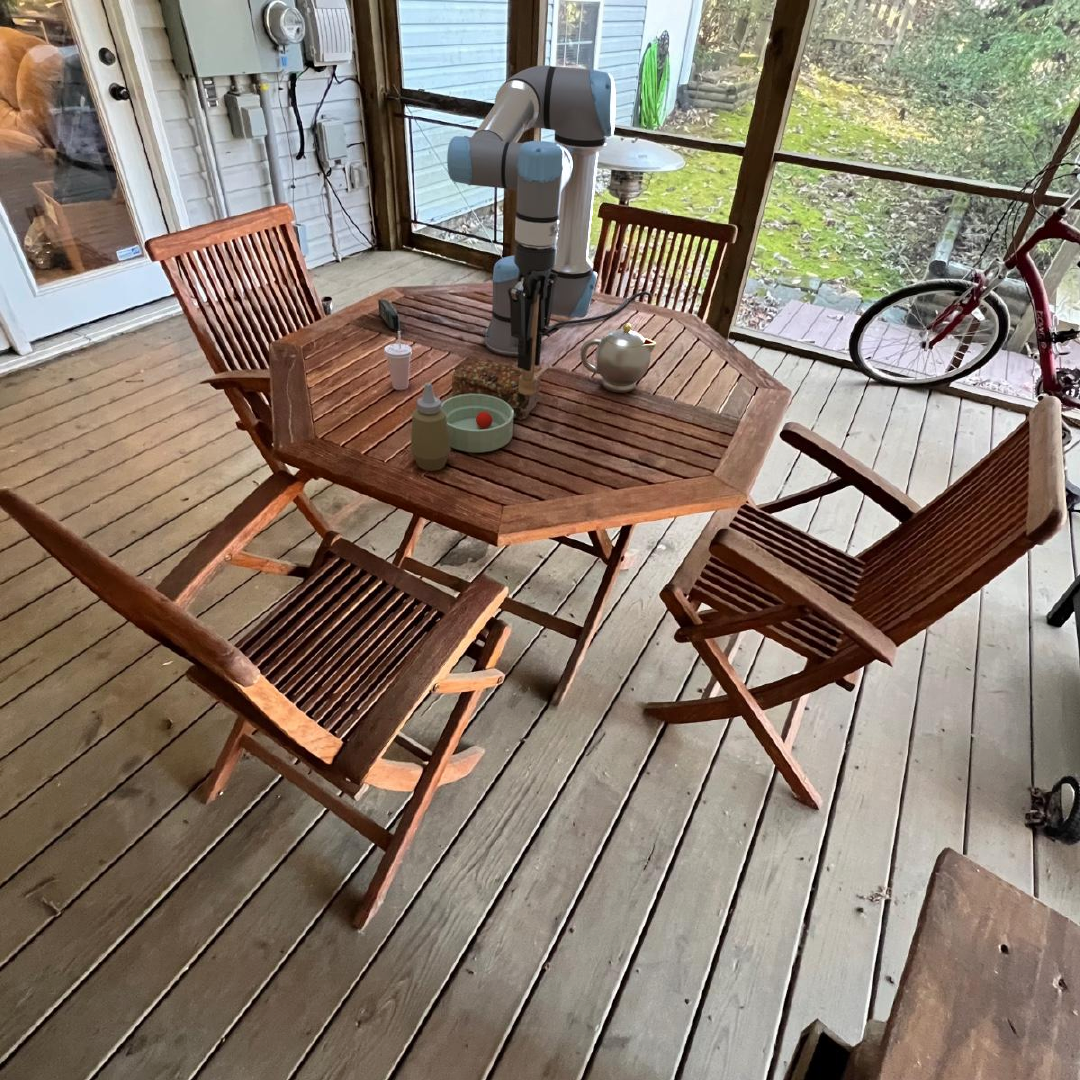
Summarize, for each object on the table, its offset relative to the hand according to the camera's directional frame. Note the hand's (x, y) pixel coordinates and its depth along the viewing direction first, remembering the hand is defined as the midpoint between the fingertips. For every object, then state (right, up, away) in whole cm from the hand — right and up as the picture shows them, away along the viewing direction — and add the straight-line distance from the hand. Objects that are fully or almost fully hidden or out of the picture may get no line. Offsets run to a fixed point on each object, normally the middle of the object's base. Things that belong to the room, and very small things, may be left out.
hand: (528, 365), depth 137 cm
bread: (-8, -3, +26) cm, 28 cm away
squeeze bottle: (-20, -19, +5) cm, 28 cm away
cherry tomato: (-10, -8, +15) cm, 20 cm away
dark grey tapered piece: (-40, +27, +59) cm, 76 cm away
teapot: (+21, +5, +38) cm, 44 cm away
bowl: (-12, -12, +15) cm, 22 cm away
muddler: (0, -4, +3) cm, 6 cm away
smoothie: (-32, +2, +30) cm, 44 cm away
